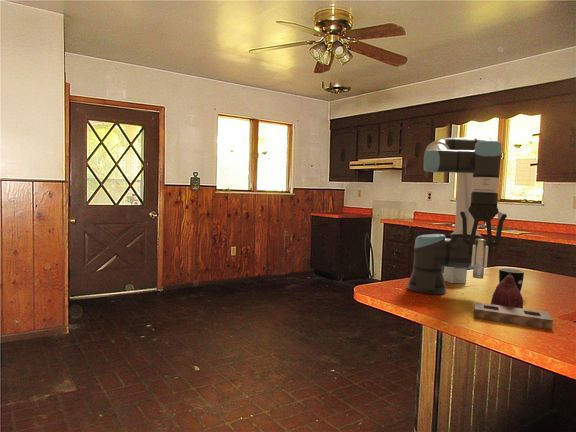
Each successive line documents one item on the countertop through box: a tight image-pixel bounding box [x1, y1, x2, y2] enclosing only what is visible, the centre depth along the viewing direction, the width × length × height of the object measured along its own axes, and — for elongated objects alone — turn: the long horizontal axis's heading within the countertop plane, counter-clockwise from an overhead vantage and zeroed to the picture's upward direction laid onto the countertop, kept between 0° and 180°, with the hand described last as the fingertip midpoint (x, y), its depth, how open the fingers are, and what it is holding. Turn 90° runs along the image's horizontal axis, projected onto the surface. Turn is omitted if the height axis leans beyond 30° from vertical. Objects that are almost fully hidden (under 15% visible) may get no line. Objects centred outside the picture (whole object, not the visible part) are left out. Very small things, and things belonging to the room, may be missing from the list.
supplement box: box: [443, 267, 468, 284], centre depth 193 cm, size 7×7×13 cm
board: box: [473, 301, 554, 331], centre depth 138 cm, size 22×10×3 cm, turn 67°
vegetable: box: [490, 273, 524, 309], centre depth 149 cm, size 10×10×15 cm
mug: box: [498, 267, 525, 292], centre depth 174 cm, size 12×9×10 cm
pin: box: [472, 238, 487, 280], centre depth 131 cm, size 3×3×12 cm
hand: (478, 266), depth 131 cm, fingers closed on pin, 3 cm apart
